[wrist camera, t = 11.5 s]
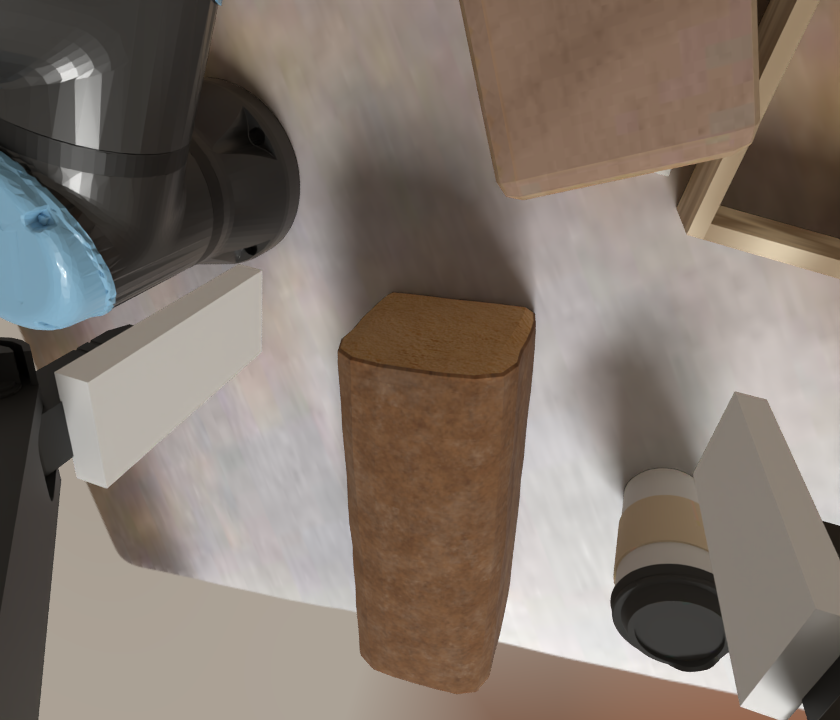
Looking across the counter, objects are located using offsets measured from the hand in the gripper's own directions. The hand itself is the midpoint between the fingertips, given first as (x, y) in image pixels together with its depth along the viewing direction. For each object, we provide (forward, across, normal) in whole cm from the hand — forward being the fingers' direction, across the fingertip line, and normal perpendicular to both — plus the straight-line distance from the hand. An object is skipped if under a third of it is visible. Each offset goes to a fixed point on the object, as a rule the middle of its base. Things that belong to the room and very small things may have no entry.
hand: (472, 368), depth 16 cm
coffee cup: (+31, +17, -26) cm, 44 cm away
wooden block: (+31, +1, +8) cm, 32 cm away
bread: (+32, -3, -28) cm, 43 cm away
